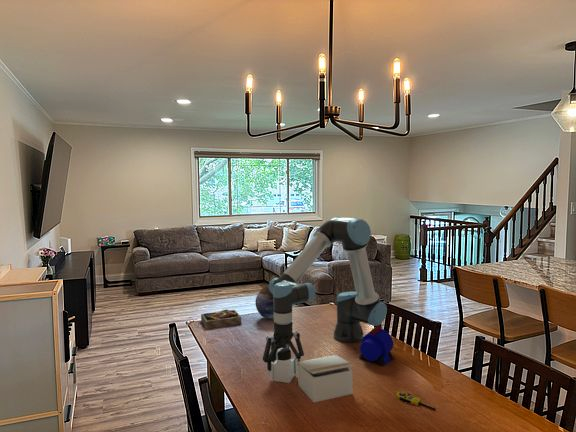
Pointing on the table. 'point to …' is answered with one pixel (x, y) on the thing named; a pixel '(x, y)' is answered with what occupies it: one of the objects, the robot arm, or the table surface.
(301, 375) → the carton
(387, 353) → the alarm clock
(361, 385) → the table surface
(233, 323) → the filled wooden tray
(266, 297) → the decorative sphere
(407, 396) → the yellow black screwdriver
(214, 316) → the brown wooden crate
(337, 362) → the lid
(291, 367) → the medicine bottle
